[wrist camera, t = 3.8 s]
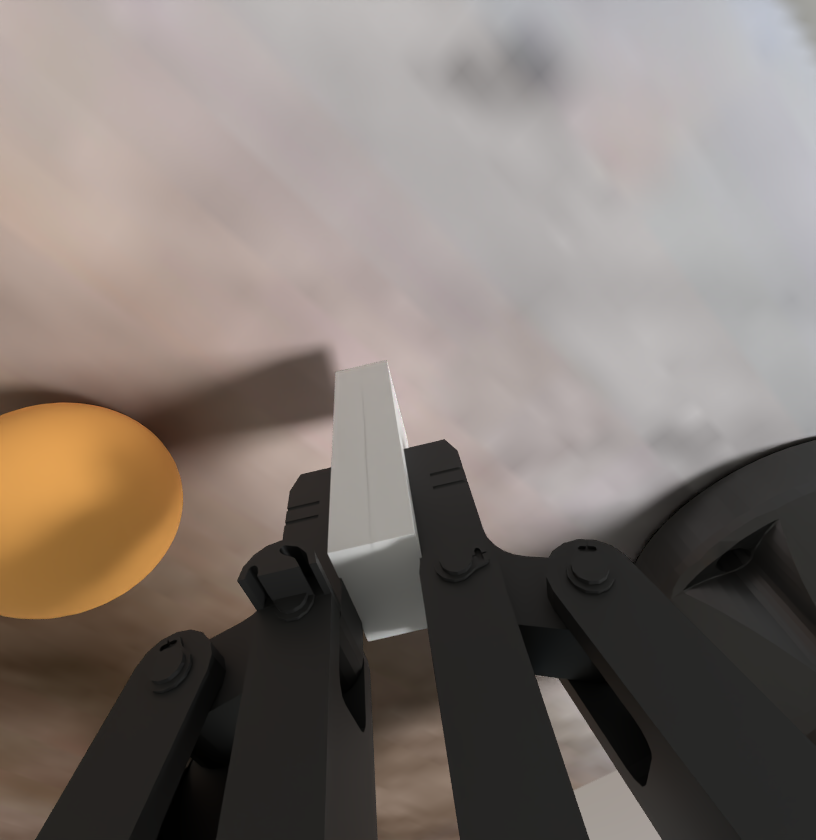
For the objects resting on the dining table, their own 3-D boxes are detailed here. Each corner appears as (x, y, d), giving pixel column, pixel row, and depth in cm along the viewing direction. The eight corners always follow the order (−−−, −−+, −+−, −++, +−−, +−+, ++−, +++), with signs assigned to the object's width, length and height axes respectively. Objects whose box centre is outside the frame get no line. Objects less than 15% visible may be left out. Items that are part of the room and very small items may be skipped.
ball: (149, 345, 14) (41, 469, 9) (232, 488, 17) (186, 636, 12) (-35, 392, 14) (-241, 539, 9) (81, 525, 18) (-25, 686, 13)
